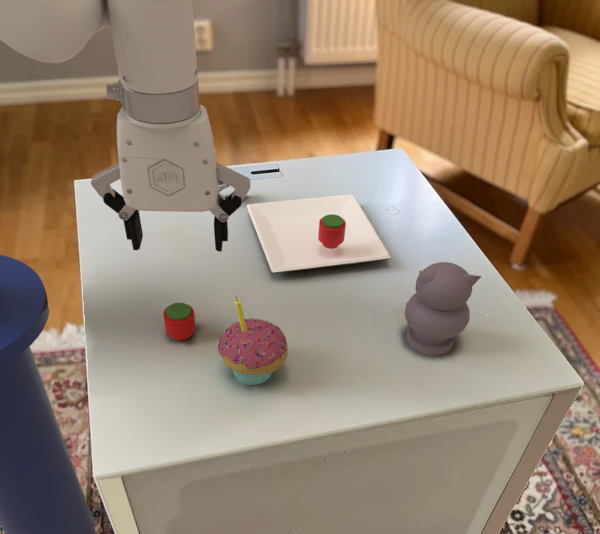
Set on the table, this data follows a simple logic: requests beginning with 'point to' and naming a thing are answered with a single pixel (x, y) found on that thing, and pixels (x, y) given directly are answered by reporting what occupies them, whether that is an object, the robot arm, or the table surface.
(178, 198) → the robot arm
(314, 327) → the table surface
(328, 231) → the red cylinder green top
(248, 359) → the cupcake
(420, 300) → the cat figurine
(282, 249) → the plate
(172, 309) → the green-lidded red jar
